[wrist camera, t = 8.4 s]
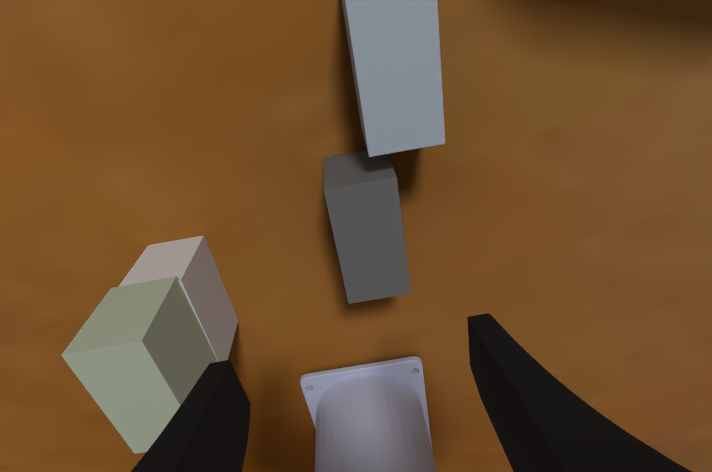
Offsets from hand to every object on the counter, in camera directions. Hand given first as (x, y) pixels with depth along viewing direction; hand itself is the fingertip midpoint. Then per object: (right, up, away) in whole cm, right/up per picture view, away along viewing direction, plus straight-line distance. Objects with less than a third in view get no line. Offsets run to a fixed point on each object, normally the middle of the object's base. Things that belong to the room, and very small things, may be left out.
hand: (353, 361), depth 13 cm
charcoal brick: (+1, +5, +9) cm, 11 cm away
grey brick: (-9, +1, +11) cm, 14 cm away
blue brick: (+1, +12, +6) cm, 13 cm away
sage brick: (-9, -1, +7) cm, 11 cm away
